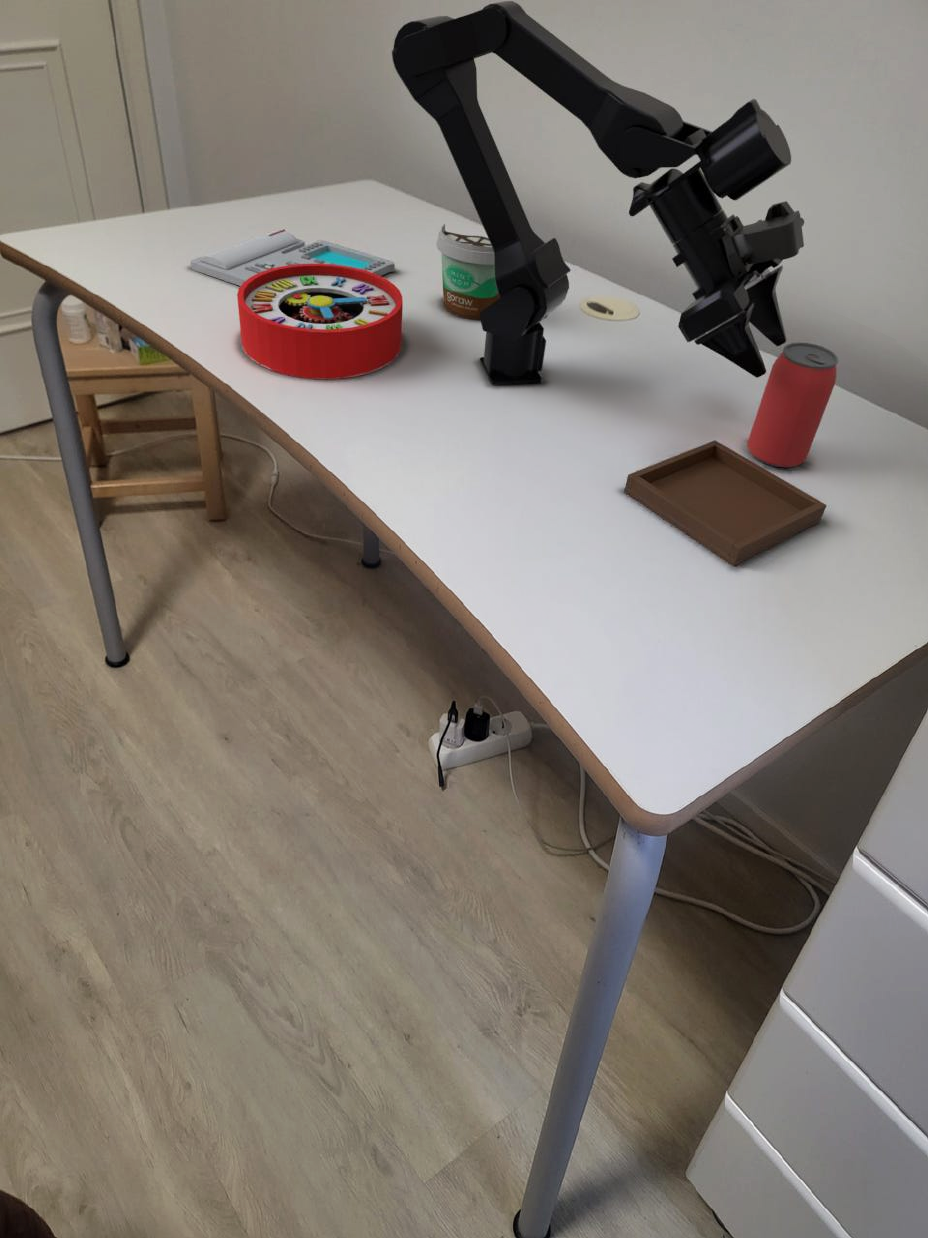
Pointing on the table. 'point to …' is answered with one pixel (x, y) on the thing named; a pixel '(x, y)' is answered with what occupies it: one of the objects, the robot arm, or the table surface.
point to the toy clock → (320, 320)
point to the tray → (724, 501)
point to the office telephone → (283, 257)
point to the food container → (467, 274)
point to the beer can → (793, 404)
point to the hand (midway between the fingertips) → (772, 359)
